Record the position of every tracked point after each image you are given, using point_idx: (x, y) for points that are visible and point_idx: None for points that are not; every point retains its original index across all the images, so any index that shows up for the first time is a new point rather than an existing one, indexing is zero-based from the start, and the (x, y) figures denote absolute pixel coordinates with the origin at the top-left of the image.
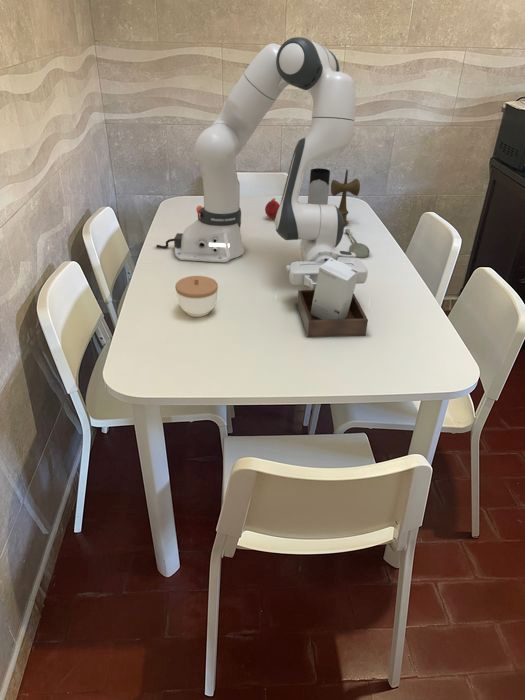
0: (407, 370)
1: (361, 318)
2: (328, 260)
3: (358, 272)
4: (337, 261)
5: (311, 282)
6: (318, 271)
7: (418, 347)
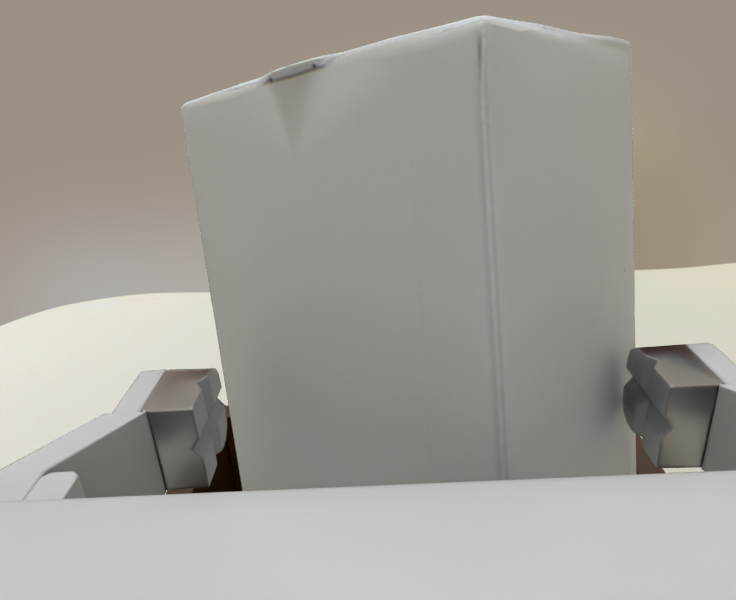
0: (190, 334)
1: (214, 475)
2: (528, 23)
3: (188, 119)
4: (387, 42)
5: (711, 349)
6: (707, 486)
7: (22, 424)
